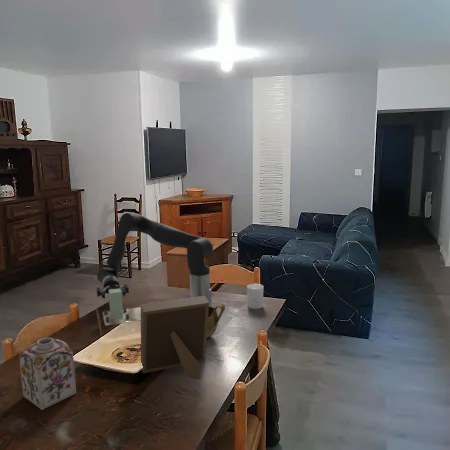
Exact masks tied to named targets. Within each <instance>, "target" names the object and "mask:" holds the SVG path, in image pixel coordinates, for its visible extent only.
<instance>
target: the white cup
mask: <svg viewBox="0 0 450 450" xmlns="http://www.w3.org/2000/svg"><path fill="white" fill-rule="evenodd" d="M246 295H247V296H246V297H247V299H246V300H247V307H248V308H249V309H253V310H258V309H262V308H263V301H264V285H263V284H259V283H251V284H248V285H246Z"/></svg>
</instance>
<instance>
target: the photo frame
mask: <svg viewBox="0 0 450 450" xmlns="http://www.w3.org/2000/svg"><path fill="white" fill-rule="evenodd" d="M176 299H177V298H176ZM140 307H141V321H140V364H141V363H142V366H143V369H142V368H141V371H142V374H146V373H147V374H149V373H153V372H156V371H162V370H167V369H173V368H174V369H175V368H179V367H182V369H183V372H184V374H185V377H186V379H197V380H198V379H199V380H200V378H201V365H200V363H203V362H206V361H205V359H206V348H207V339H206V336H207V323H208V311H209V302H208V300H207V298H206V297H205V296H199V297H192V298H190V297H185V298H178V299H177V300H175V299H171V300H165V301H157V302H156V301H155V302H149V303H141V304H140Z"/></svg>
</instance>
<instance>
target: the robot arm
mask: <svg viewBox="0 0 450 450" xmlns="http://www.w3.org/2000/svg"><path fill="white" fill-rule="evenodd" d="M130 232H139V233H141V234H142V233H143V234H145V235H149V237H150V238H152V240H153V241H155V242H156V243H159V244H161V245H163V246H168V247H173V248H182V249H186V257H187V268H188V270H189V293H190V294H189V295H190V297H189V298H192V297H199V296H205V297H206V298H207V300H208V302H209V306H212V304H213V303H212V302H213V301H212V289H211V282H210V281H211V276H210V275H211V274H210V270H211V269H210V267H209V266H208V264H207V265H206V264H205V263H206V262H205V259H206V258H208V257H209V256H210V255H211V254H213V251H214V246H213V243H212V242H211V240H209V239H207V238H206V237H202V236H198V235H193V234H191V233H190V234H189V233H188V232H185V231H182V230H180V229H177V228H175V227H172V226H170V225H167V224H164V223H161V222H158V221H154V220H152V219H149V218H147V217H145V216H143V215H141V214H139V213H136V212H135V213H134V212H125V213H123V214H121V216H120V218H119V222H118V225H117V229H116V233H115V237H114V240H113V241H114V242H113V245H112V247H111V250H110V253H109V254H108V256H107V260H106V264H107V266H109V267H111V268H112V269H111V268H107V267H101V268H99V269H98V270H97V272H96V273H97V274H96V278H97V280H98V281H99V282H100V283H101V285H102V288H100V287H96V297H97V298H99V297H100V296H101V299H103V300H105V299H106V297H107V296H109V290H111V289H119V288H120V289H121V292H122V297H126V295H127V294H129V293H130V287H129V285H128V284H126V283H125V284H124V285H123V286H122V285H120V283H119V280H118V279H119V271H120V267H121V263H122V262H123V260H124V256H125V253H126V239H127V237H128V236H129V235H128V234H129V233H130ZM212 307H213V306H212Z"/></svg>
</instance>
